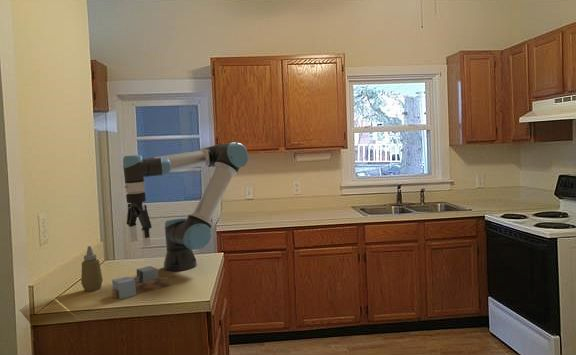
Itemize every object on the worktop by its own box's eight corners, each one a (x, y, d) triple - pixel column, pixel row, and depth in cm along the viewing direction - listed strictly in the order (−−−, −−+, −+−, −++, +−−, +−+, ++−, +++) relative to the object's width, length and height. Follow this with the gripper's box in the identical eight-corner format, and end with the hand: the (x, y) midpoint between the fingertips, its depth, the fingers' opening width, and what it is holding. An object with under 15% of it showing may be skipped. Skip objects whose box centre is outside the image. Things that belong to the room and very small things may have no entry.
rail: (167, 284, 188) (166, 276, 188) (170, 286, 186) (169, 277, 186) (112, 298, 174) (112, 289, 174) (115, 299, 172) (114, 290, 171)
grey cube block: (151, 279, 198) (150, 266, 197) (158, 282, 192) (157, 268, 191) (136, 283, 193) (135, 269, 193) (143, 286, 188) (142, 272, 187)
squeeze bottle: (80, 294, 181) (76, 249, 180) (83, 288, 189) (80, 245, 188) (102, 291, 183) (98, 247, 182) (104, 286, 191) (101, 243, 190)
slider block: (120, 299, 171) (119, 283, 170) (113, 295, 176) (112, 279, 176) (137, 294, 175) (136, 279, 175) (130, 290, 181) (129, 275, 180)
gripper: (115, 192, 196) (120, 241, 198) (138, 195, 177) (143, 249, 179) (132, 190, 201) (137, 238, 202) (157, 192, 182) (161, 245, 183)
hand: (140, 243), depth 191 cm, fingers open, 13 cm apart
